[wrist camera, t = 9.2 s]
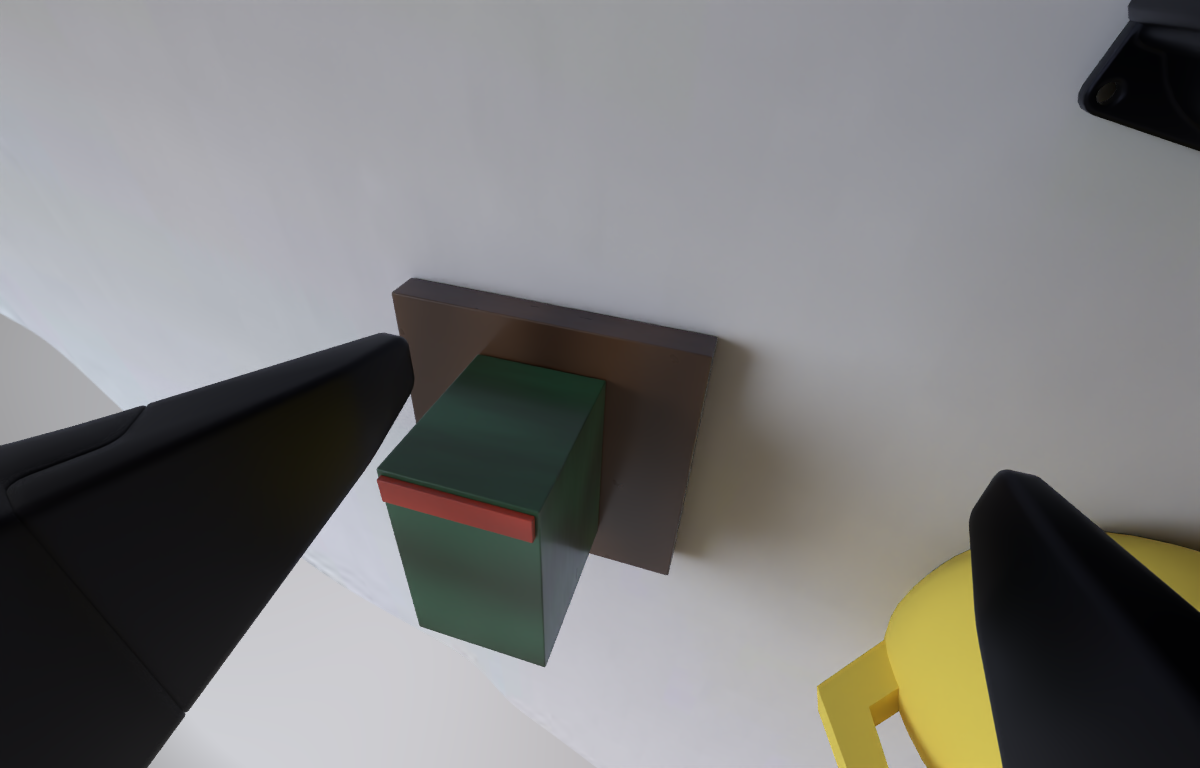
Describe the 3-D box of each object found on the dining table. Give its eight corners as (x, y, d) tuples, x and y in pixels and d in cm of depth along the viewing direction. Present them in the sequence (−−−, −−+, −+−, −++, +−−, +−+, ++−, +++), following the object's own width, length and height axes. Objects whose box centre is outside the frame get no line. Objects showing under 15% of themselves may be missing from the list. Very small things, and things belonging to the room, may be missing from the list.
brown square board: (718, 336, 21) (712, 357, 20) (673, 552, 29) (667, 576, 28) (411, 277, 24) (390, 292, 23) (445, 489, 31) (431, 508, 30)
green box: (598, 530, 27) (542, 674, 22) (493, 502, 28) (416, 632, 23) (606, 380, 22) (536, 518, 16) (477, 353, 23) (370, 474, 17)
